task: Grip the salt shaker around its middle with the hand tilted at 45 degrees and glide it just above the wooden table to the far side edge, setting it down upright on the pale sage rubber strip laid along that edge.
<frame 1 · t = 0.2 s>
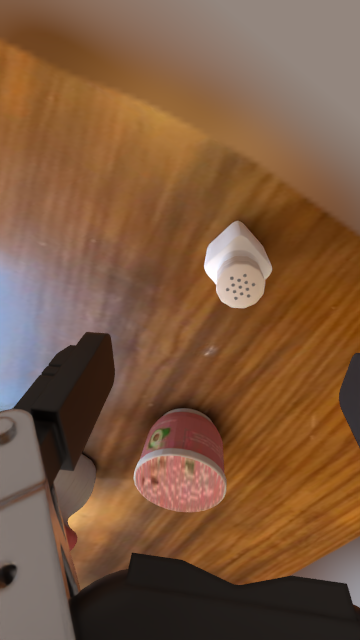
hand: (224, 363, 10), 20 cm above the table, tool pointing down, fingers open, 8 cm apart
decorative ornament: (76, 461, 47), on the table
container: (186, 427, 40), on the table
salt shaker: (235, 247, 28), on the table
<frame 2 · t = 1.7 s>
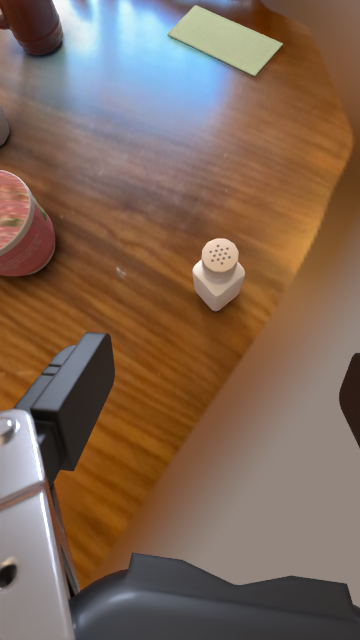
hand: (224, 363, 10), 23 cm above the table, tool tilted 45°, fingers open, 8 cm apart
container: (28, 248, 39), on the table
salt shaker: (216, 292, 35), on the table
edge strip: (223, 40, 44), on the table
mug: (35, 47, 48), on the table
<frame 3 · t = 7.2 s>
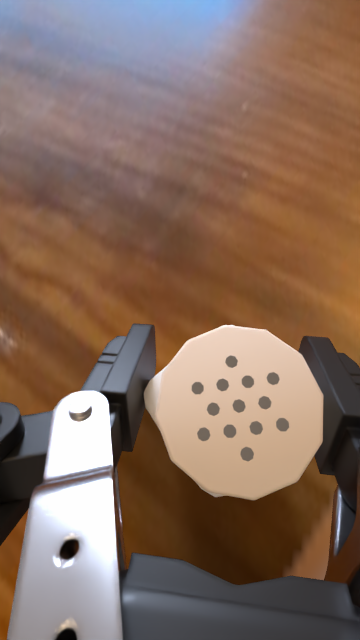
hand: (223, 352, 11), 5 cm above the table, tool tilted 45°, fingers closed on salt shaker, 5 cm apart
salt shaker: (215, 404, 15), on the table, touching gripper
when the fingers open (5 cm above the table, at t = 18.7 s): salt shaker stays where it is, resting on edge strip.
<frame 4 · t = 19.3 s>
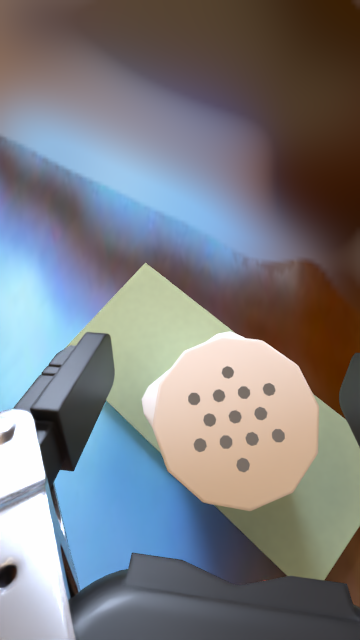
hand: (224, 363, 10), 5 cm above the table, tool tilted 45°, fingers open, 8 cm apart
salt shaker: (214, 408, 15), resting on edge strip
edge strip: (215, 404, 15), on the table
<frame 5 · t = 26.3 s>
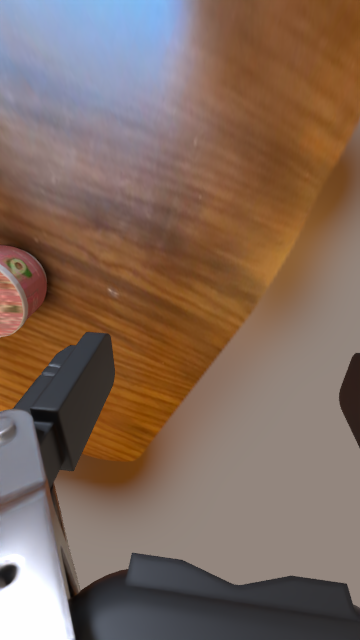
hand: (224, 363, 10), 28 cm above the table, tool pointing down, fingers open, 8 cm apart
container: (21, 274, 42), on the table
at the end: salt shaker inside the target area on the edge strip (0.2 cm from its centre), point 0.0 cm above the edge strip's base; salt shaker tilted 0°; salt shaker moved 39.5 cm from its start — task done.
